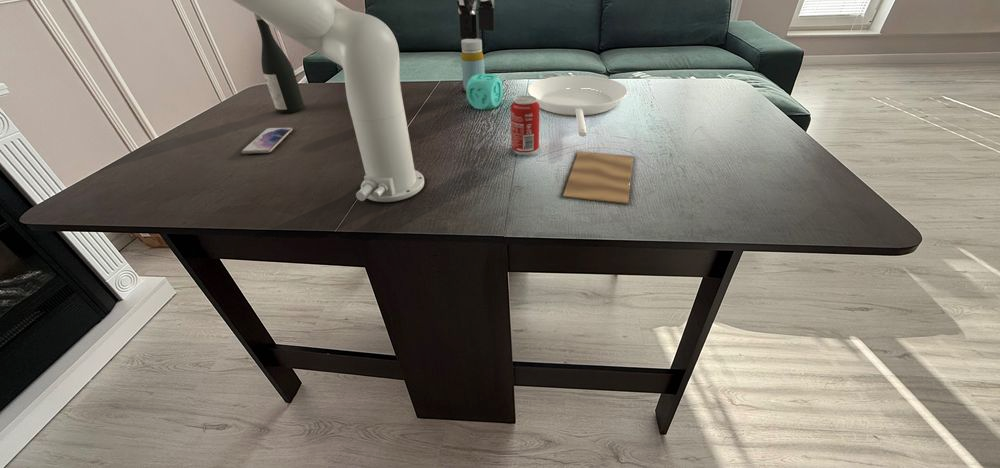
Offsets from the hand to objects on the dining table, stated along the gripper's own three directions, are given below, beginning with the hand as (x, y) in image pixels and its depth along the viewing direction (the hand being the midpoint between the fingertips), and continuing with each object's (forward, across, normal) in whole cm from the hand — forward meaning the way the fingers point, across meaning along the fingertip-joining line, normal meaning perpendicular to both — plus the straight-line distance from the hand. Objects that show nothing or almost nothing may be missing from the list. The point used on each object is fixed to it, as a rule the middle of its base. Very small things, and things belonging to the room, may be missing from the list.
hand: (478, 34), depth 82 cm
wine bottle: (+27, +17, +68) cm, 75 cm away
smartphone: (+27, -5, +56) cm, 62 cm away
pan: (+24, +33, -16) cm, 44 cm away
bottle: (+25, +46, +19) cm, 56 cm away
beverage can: (+25, +5, -9) cm, 27 cm away
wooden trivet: (+25, -3, -27) cm, 37 cm away
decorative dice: (+25, +33, +11) cm, 43 cm away
